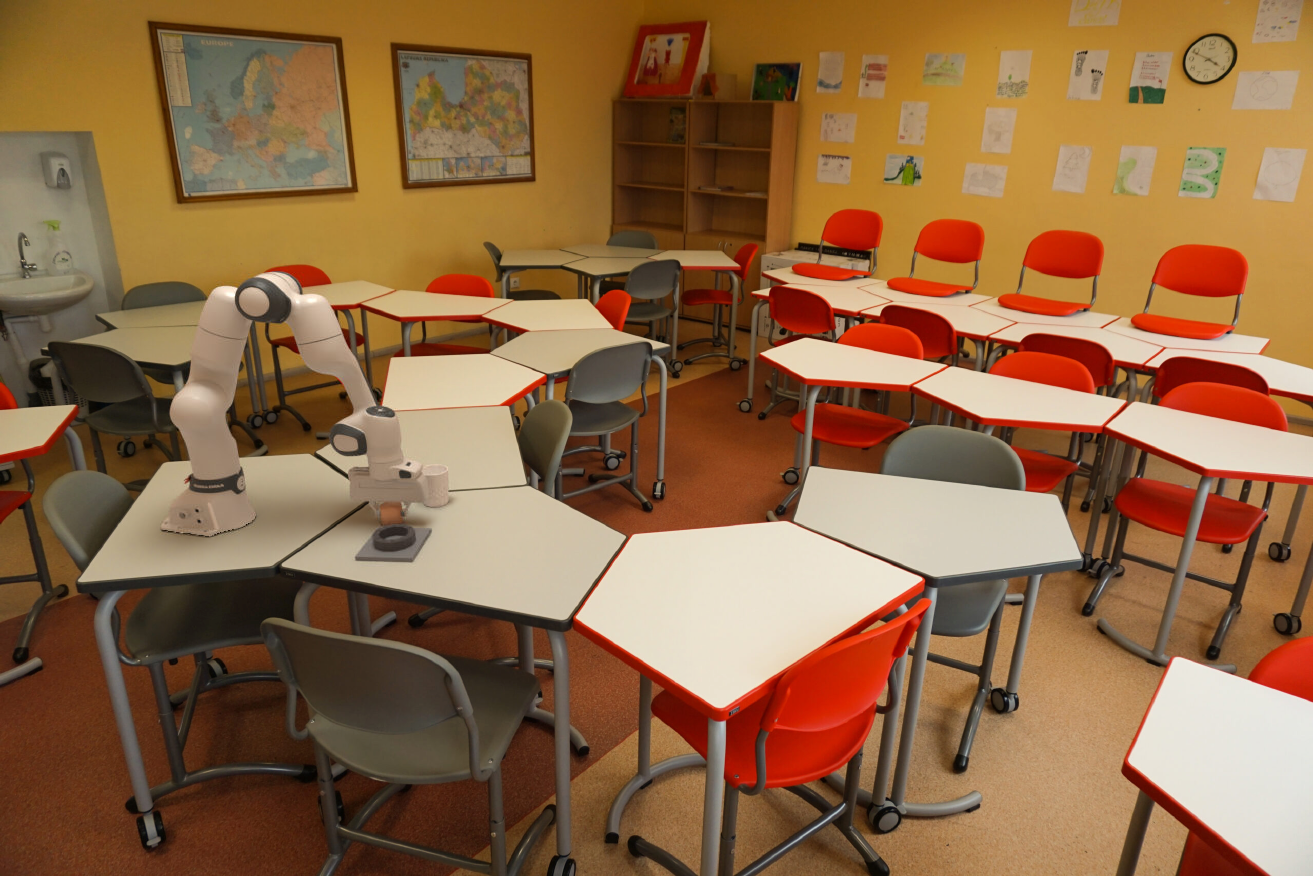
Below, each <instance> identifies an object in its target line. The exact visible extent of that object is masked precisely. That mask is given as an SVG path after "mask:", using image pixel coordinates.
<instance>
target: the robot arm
mask: <svg viewBox="0 0 1313 876" xmlns="http://www.w3.org/2000/svg"><path fill="white" fill-rule="evenodd" d="M253 322H257V323H265V324H267V323H268V324H277V325H281V324H283V323H286V324H287V325H288V326H289V328H290V329H291V332H292V334H293V337H294V340H295V343H296V346H297V349H298V352H299V354H300V357H301V359H302V361H303V363H304V364H305V366H306V368H309V369H310V370H311V371H313V372H316V373H319V374H323V375H330V376H334V377H336V378H337V379H338V380H339V381H340V382H341V383H342V385H343V386H344V388H345V392H346V394H347V395H348V397H349V400H350V402H351V404H352V407H353V412H352V414H351V415H349V416H347V417H345V418H342V419H341V420H339V421H338V422H336V423H335V424H334V425H332V426H331V428H330V430H329V431H328V439H329V440H328V441H329V443H330V446H331V448H332V449H333V450H334V451H335V452H336V453H337V454H339V455H341V456H343V457H359V456H366V458H367V466H352V468H349V469H348V472H347V476H348V477H347V478H348V480H349V498H350V499H351V500H352V501H353V502H368V504H369V507H371V509H373V511H374V516H376V517H381V513H380V505H378V503H380V502H381V503H384V502H401V503H403V506H405V508H404V507H402V510H401V517H403V518H405V517H406V518H407V517H408V516H409V509H410V507H411V504H412V503H413V504H414V503H416V504H417V503H419V504H420V503H421V504H422V503H423V504H424V502H425V501H426V499H427V498H428V496H429V488H428V483H427V479H426V476H425V475H424V474H423V473H422V472H421V471H422V469H423V467H424V465H423V464H422V463H421V462H419V461H416V460H413V459H410V458H407V457H405V456H404V452H403V451H402V447H401V445H402V433H401V425H400V421H399V418H398V415H397V413H396V412H395V411H394V409H392V408H391V407H388V406H385V405H381V404H380V403H379V401H378V400H377V397H376V396H375V393H374V391H373V389H372V386H371V385H370V382H369V380H368V377H367V375H366V373H365V370H364V368H363V367H362V365H361V363H360V361H359V359H358V358H357V356H356V355H355V354H354V353H353V352H352V351H351V350H350V348H349V346H348V343H347V342H346V339H345V337H344V333H343V331H342V328H341V325H340V323H339V321H338V318H337V316H336V314H335V311H334V309H333V308H332V306H331V304H330V302H329V300H328V299H327V298H326V297H325V296H324V295H320V294H318V293H305V294H304V291H303V286H302V285H301V282H300V281H299V280H298V279H297V278H296V277H294V275H292V274H290V273H288V272H285V271H280V270H273V271H270V272H264V273H258V274H257V275H255V276H254V277H253V276H252V277H250V278H247V279H245V280H244V281H243V282H241V283H240V284H239V286H238V287H236V286H231V285H222V286H221V285H220V286H218V287H215V288H214V289H212V291H211V293H210V294H209V296H208V298H207V299H206V302H205V304H204V306H203V308H202V311H201V314H200V317H199V319H198V322H197V327H196V330H195V334H194V338H193V343H192V347H191V351H190V367H189V369H190V370H189V375H188V379H187V381H186V382H185V385H184V386H183V388H181V390H179V391H178V392H177V393H176V394H175V395H174V397H173V399H172V401H171V404H170V408H169V416H170V420H171V422H172V423H173V425H174V426H175V427H176V428H177V429H178V430H179V433H180V434H181V436H182V438H183V440H184V443H185V445H186V448H187V452H188V457H189V460H190V461H189V462H190V467H191V471H192V473H190V474H189V475H188V476H187V477H186V478H184V479H183V481H184V483H183V484H185V485H187V483H189V484H188V485H189V486H188V488H186V489H185V490H183V492H181V493H180V494H179V495H178V496H177V497H176V498H174V499H173V500H172V501H171V503H170V506H169V508H168V509H169V511H168V514H169V515H168V517H166V518H165V519H164V520H163V521H162V523H161V525H160V530H161V529H162V530H170V531H176V532H183V533H192V534H199V535H205V536H209V537H212V536H211V535H213V536H215V535H214V534H216V535H218V534H217V533H219V534H221V533H224V531H226V532H229V531H228V530H230V531H233V530H232V529H234V530H238V529H239V528H242V527H244V526H247V525H249V524H250V523H252V522H253V521H254V520H255V519H256V518H255V516H256V517H257V513H256V511H255V510H254V508H253V505H252V504H251V501H250V498H249V496H248V493H247V489H246V488H247V487H246V486H247V485H246V479H245V478H246V477H245V473H244V470H243V467H242V466H241V463H240V457H239V452H238V444H237V441H236V438H234V437H233V435H232V433H231V430H230V429H229V426H228V424H227V419H226V412H227V411H228V410H229V409H230V407H231V406H232V404H233V402H234V399H235V394H236V389H237V384H238V377H239V372H240V371H239V370H240V365H241V362H242V358H243V354H244V351H245V347H246V344H247V340H248V336H249V331H250V329H251V326H252V324H253ZM377 502H378V503H377ZM252 520H253V521H252ZM248 523H249V524H248ZM246 524H247V525H246ZM162 530H161V531H162ZM176 532H175V533H176ZM220 532H221V533H220ZM183 533H182V534H183ZM205 536H204V537H205Z"/></svg>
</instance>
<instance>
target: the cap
mask: <svg viewBox="0 0 1313 876" xmlns="http://www.w3.org/2000/svg"><path fill="white" fill-rule="evenodd" d="M402 503H403V502H381V504H379V508H380V513H381V516H380V518H381V519H380V521H381V525H382V527H383V526H387V525H392V524H403V523H404V521H405V520H404V517H401V510H402V509H403V504H402Z"/></svg>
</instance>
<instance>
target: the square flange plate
mask: <svg viewBox="0 0 1313 876" xmlns="http://www.w3.org/2000/svg"><path fill="white" fill-rule="evenodd" d="M432 531H433V530H432V528H431V527H414V526H411V525H408V524H405V523H404V524H403V523H402V524H392V525H387V526H383V525H382V526H377V528H376V529H375V530H374V531H373V533H372V534H371V536H369V538H368V539H367V540H366V542H365V543H364V544H363V546H361V548H360V549H359V551H358V552H357V553H356V555H355V556H354V559H355V561H367V562H368V561H370V562H402V563H403V562H404V563H405V562H406V563H409V562H410V563H413V562H414V561H415V559H416V557H417V555H418V554H419V553H420V551H421V549H422V548H423V547H424V545H425V544H426V542H427V539H429V536H431V534H432Z"/></svg>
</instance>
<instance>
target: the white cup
mask: <svg viewBox="0 0 1313 876" xmlns="http://www.w3.org/2000/svg"><path fill="white" fill-rule="evenodd" d="M421 472H422V473H423V474H424V475H425V476H426V479H427V483H428V488H429V496H428V498H427V499H426V501H425V502H423V504H424V505H425V506H426V507H429V508H438V507H443V506H445V505H447V504H448V503H449V487H450V486H449V482H450V481H449V467H448V466H446V465H444V464H438V463H437V464H436V463H435V464H427V465H425V466H424V465H423V469H422V471H421Z"/></svg>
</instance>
